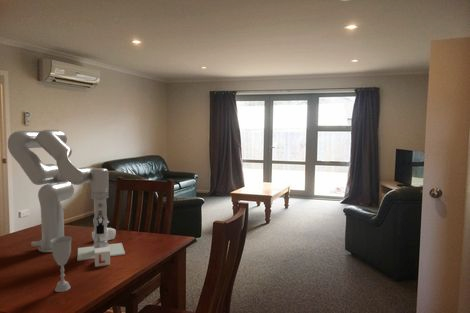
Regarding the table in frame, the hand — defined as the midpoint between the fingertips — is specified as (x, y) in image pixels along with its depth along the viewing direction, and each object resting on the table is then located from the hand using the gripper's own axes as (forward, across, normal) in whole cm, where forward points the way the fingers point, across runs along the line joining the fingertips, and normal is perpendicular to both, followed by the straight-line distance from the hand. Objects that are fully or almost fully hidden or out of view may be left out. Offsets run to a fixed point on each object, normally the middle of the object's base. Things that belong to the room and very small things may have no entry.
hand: (99, 230), depth 157 cm
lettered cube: (+10, -15, -1) cm, 18 cm away
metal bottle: (+10, 0, 0) cm, 10 cm away
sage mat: (+10, 0, -1) cm, 10 cm away
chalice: (+10, -35, +13) cm, 39 cm away
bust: (+10, +19, -3) cm, 22 cm away
